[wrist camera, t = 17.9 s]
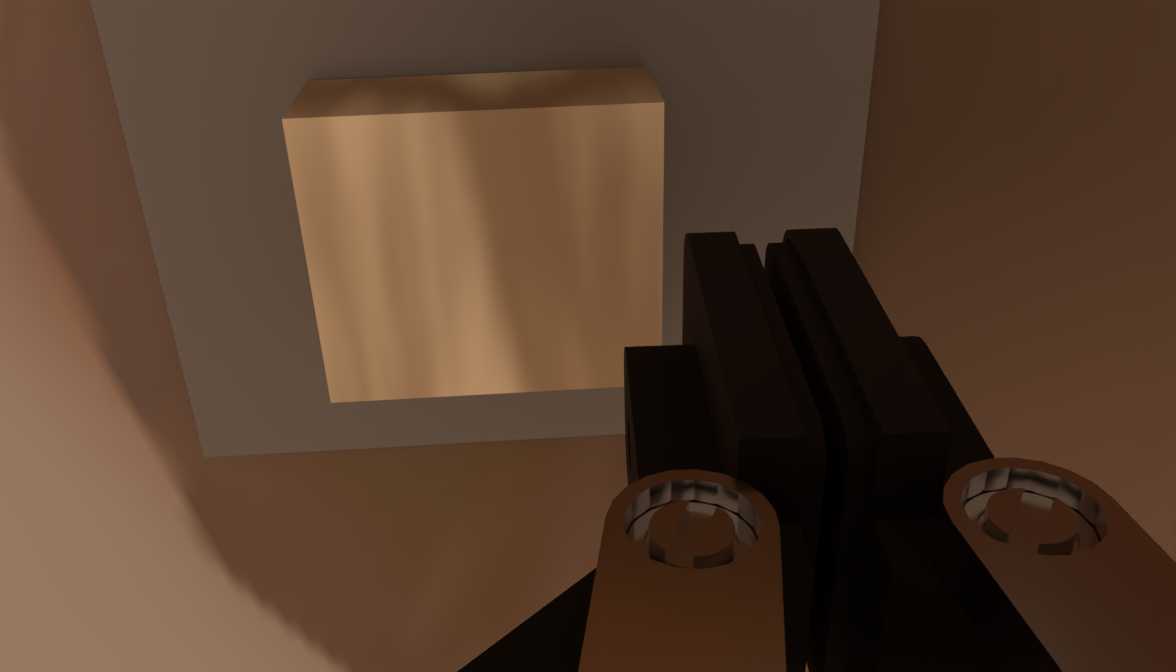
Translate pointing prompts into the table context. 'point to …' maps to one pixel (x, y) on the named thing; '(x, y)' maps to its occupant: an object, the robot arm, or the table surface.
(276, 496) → the table surface
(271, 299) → the rubber mat
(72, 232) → the table surface
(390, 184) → the birch tile
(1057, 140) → the table surface
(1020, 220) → the table surface
